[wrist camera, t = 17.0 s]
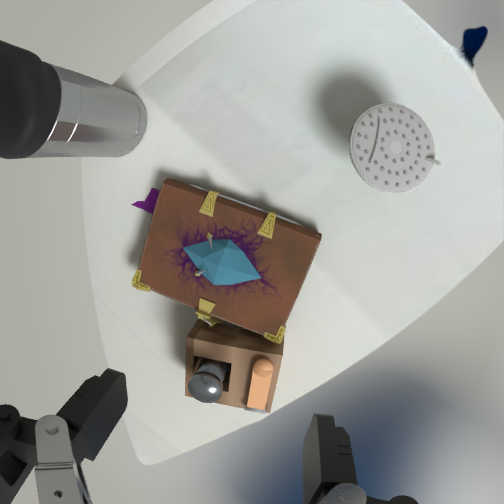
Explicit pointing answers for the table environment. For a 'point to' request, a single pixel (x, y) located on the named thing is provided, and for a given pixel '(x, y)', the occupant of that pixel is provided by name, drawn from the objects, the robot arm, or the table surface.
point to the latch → (260, 385)
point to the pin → (208, 380)
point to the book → (224, 257)
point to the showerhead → (392, 148)
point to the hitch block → (232, 359)
